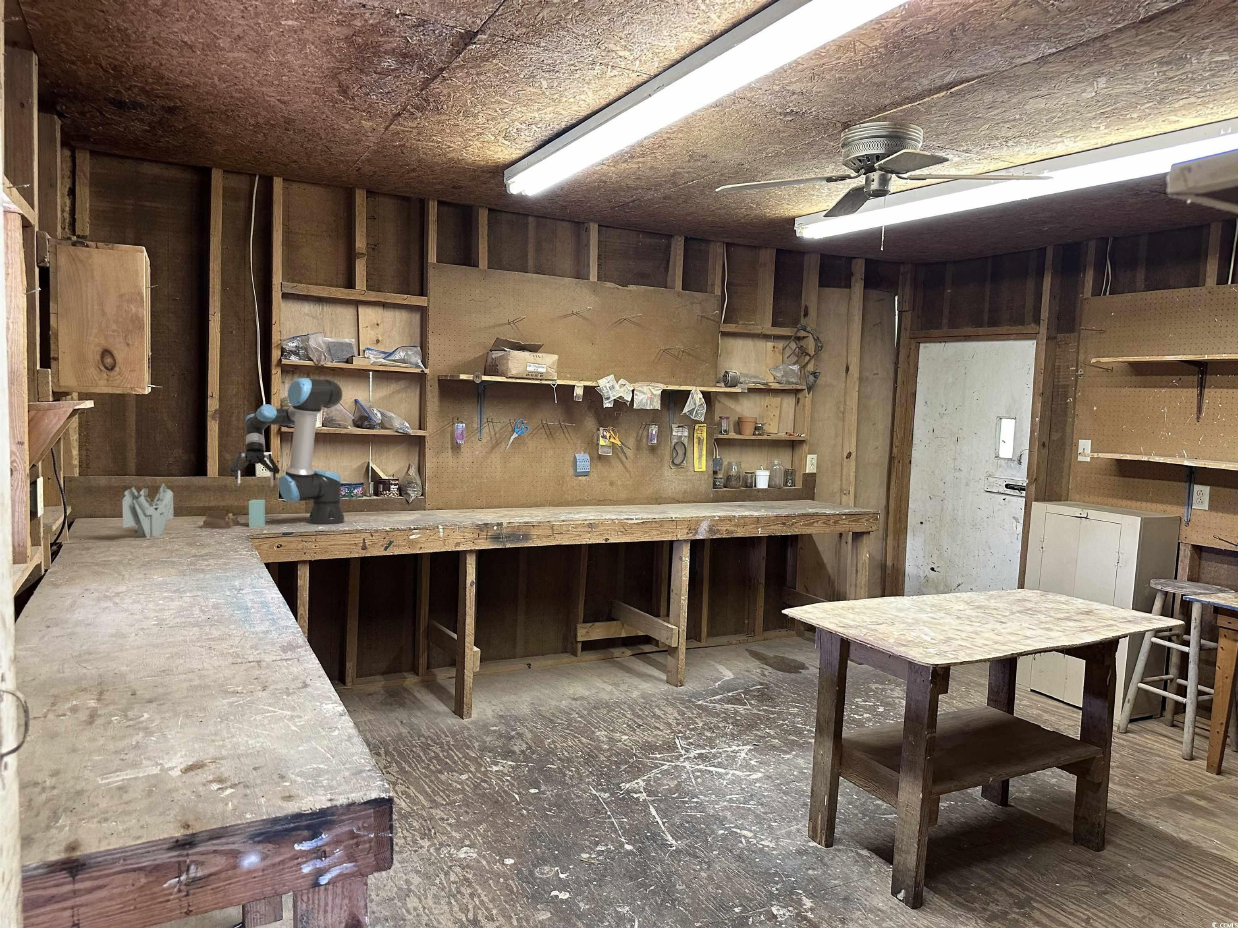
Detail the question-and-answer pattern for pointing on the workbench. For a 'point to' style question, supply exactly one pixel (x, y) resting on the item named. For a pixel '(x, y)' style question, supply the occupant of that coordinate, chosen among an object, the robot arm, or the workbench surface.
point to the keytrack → (219, 520)
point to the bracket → (147, 511)
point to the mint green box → (256, 513)
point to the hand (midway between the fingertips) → (255, 485)
